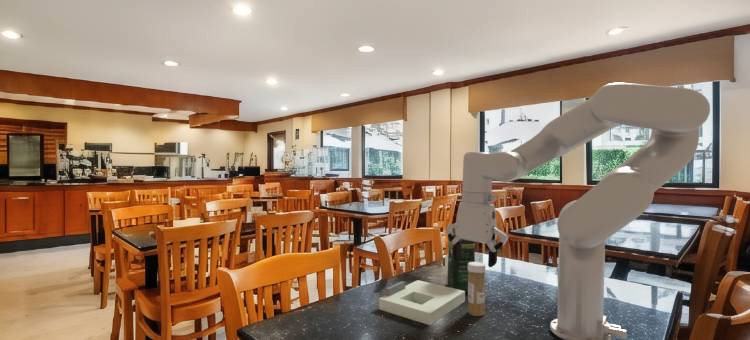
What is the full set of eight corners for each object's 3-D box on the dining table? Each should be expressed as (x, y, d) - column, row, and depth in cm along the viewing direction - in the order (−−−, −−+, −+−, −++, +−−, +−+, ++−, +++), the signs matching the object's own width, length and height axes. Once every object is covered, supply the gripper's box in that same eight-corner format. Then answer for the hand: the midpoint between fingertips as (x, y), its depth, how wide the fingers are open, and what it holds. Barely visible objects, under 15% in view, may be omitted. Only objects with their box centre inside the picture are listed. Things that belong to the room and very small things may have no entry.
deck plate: (464, 301, 110) (465, 284, 110) (430, 325, 94) (430, 305, 94) (417, 289, 120) (417, 273, 119) (379, 309, 104) (379, 291, 104)
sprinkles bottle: (485, 317, 99) (486, 266, 98) (467, 316, 99) (468, 265, 99) (484, 310, 103) (484, 261, 103) (467, 309, 104) (467, 260, 104)
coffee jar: (477, 293, 117) (478, 233, 116) (452, 293, 116) (452, 233, 116) (468, 282, 126) (469, 227, 126) (445, 282, 126) (445, 227, 125)
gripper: (514, 200, 98) (511, 265, 99) (453, 194, 109) (451, 253, 109) (504, 203, 92) (501, 272, 93) (440, 196, 103) (438, 258, 104)
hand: (474, 262), depth 101 cm, fingers open, 9 cm apart
